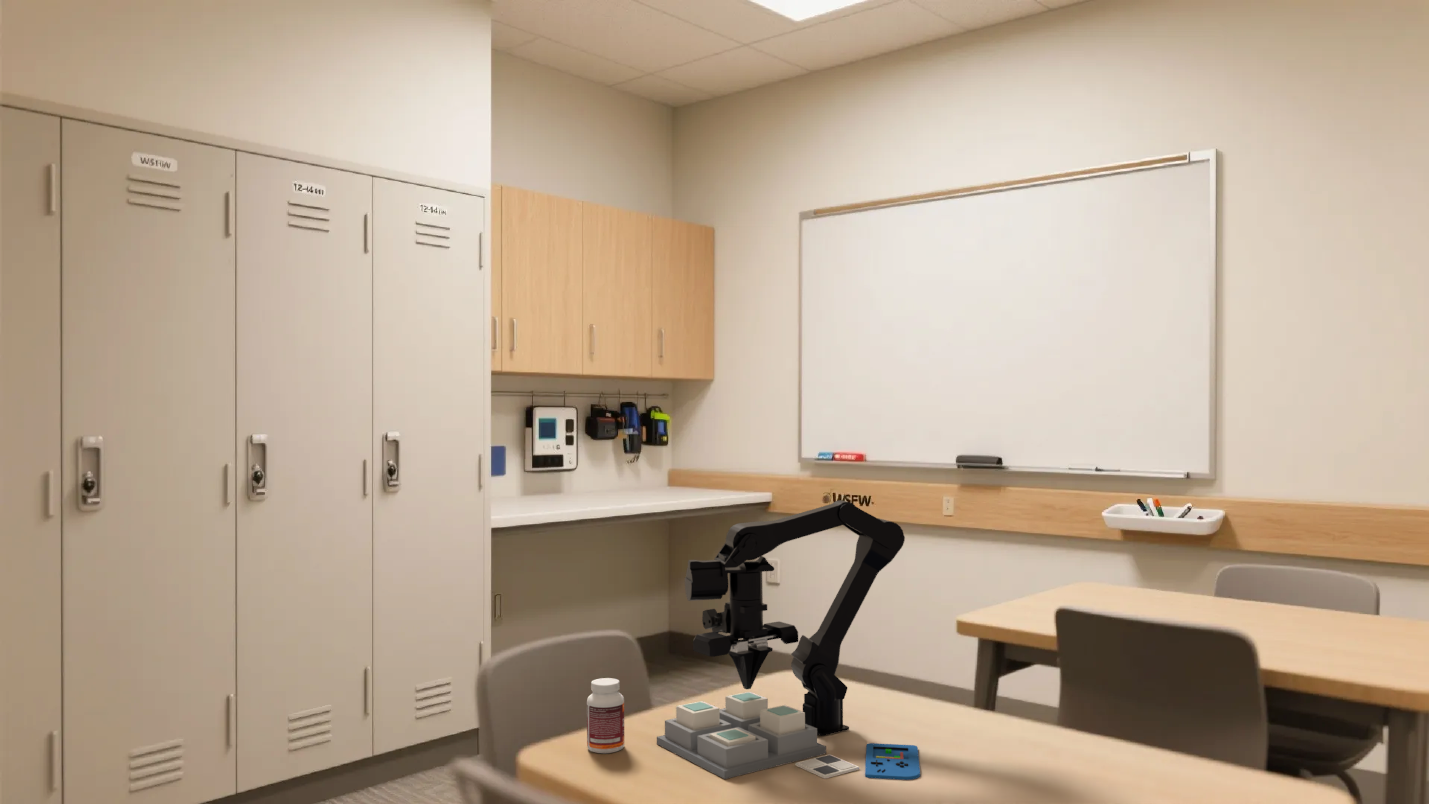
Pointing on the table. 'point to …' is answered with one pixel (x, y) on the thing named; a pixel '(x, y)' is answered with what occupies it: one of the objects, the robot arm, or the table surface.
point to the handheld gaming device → (892, 761)
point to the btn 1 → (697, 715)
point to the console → (739, 746)
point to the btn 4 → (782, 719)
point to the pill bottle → (605, 716)
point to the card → (827, 766)
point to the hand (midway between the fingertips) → (747, 688)
